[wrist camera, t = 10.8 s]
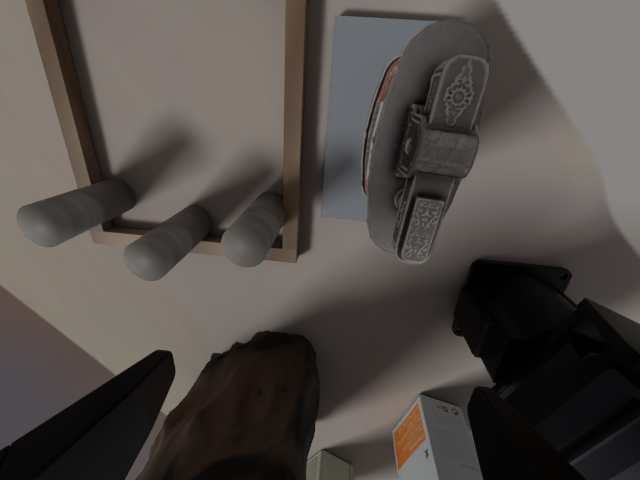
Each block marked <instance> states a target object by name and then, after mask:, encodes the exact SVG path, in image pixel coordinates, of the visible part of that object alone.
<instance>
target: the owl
mask: <svg viewBox="0 0 640 480" xmlns="http://www.w3.org/2000/svg"><path fill="white" fill-rule="evenodd" d="M319 398H320V389H319V375H318V368H317V366H316V353H315V351H314V349H313V347H312V344H311V342H310V341H309V340H308V339H306V338H305V337H304V336H302V335H294V334H291V335H290V334H288V333H279V332H270V331H264V332H258V333H256V334H255V335H254V336H253V338H252V339H251V340H250V341H249V342H248V343H247V344H245V345H244V344H241V343H238V342H236V343H234V344H233V345H232V347H231V349H230V350H229V351H227V352H225V353H223V355H221V354H218V353H213V354H212V356H211V360H210V361H209V362H208V363H207V364H206V366H205V368H204V369H203V370H202V372H201V374H200V375H199V377H198V379H197V380H196V382H195V383H194V385H193V386H192V388H191V389H190V391H189V392H188V394H187V395H186V397H185V398H184V399H183V400H182V401H181V402H180V403H179V404H178V405H177V407H176V408H174V409H173V410H172V411H171V412H169V414H168V416H167V417H166V419H165V421H164V424H163V427H162V429H161V431H160V432H159V434H158V436H157V437H156V439H155V442H154V443H153V445H152V446H151V450H150V455H149V460H148V462H147V464H146V466H145V467H144V469H143V471H142V472H141V474H140V475H139V476H138V477H137V478H136V480H306V467H307V456H308V453H309V450H310V447H311V443H312V440H313V438H314V433H315V422H316V418H317V413H318V408H319Z"/></svg>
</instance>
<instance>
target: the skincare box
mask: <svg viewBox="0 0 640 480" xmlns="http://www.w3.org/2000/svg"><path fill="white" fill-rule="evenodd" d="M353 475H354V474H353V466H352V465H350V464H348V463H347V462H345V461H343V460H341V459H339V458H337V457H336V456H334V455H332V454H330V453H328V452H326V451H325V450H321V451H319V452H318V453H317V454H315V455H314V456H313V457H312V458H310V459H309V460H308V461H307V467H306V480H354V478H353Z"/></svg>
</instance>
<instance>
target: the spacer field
mask: <svg viewBox="0 0 640 480" xmlns="http://www.w3.org/2000/svg"><path fill="white" fill-rule="evenodd" d="M25 2H26V5H27V9H28V12H29V16H30V20H31V23H32V27H33V30H34V34H35V37H36V41H37V44H38V48H39V52H40V55H41V59H42V62H43V66H44V69H45V73H46V76H47V80H48V84H49V87H50V91H51V94H52V98H53V101H54V105H55V108H56V112H57V116H58V119H59V123H60V126H61V130H62V133H63V137H64V140H65V144H66V147H67V151H68V155H69V158H70V162H71V165H72V169H73V172H74V176H75V179H76V183H77V187H78V189H76V190H73V191H70V192H67V193H64V194H60V195H57V196H54V197H51V198H48V199H45V200H41V201H38V202H35V203H32V204H29V205H26V206H23V207H21V208H20V209H19V210H18V212H17V223H18V225H19V228H20V229H21V231H22V232H23V234H24V235H25V236H26V237H27V238H28V239H30V240H31V241H32V242H34V243H36V244H38V245H40V246H43V247H54V246H57V245H59V244H61V243H63V242H65V241H67V240H69V239H71V238H73V237H75V236H77V235H79V234H81V233H83V232H85V231H87V230H89V229H90V233H91V236H92V240H93V243H99V244H110V245H120V246H127V247H126V248H125V250H124V261H125V264H126V266H127V267H128V269H129V270H130V271H131V272H132V273H133V274H134V275H136V276H137V277H139V278H141V279H144V280H148V281H155V280H159V279H161V278H162V277H163V276H164V275H166V274H167V273H168V272H169V271H170V270H171V269H172V268H173V267H174V266H175V265H176V264H177V263H178V262H179V261H180V260H181V259H183V258H184V257H185V256H186V255H187V254H188V253H189V252H190V253H201V254H211V255H221V256H226V257H227V258H228V259H229V260H230V261H231V262H233V263H234V264H236V265H239V266H242V267H253V266H256V265H258V264H260V263H261V262H262V261H263V260H271V261H281V262H291V263H296V262H297V259H298V253H299V227H300V202H301V177H302V151H303V126H304V100H305V75H306V49H307V24H308V0H286V27H285V100H284V173H283V197H282V196H281V195H279V194H277V193H274V192H266V193H263V194H261V195H260V196H259V197H258V198H257V199H256V200H255V201H254V202H253V203H252V204H251V205H250V206H249V207H248V208H247V209H246V210H245V211H244V212H243V213H242V214H241V216H240V217H239V218H238V219H237V220H236V221H235V222H234V223H233V224H232V225H231V226H230V227H229V228H228V229H227V230H226V231H225V232H224V234H223V236H222V237H218V236H208V234H209V233H210V232H211V230H212V227H213V223H212V219H211V217H210V215H209V214H208V213H207V212H206V211H205V210H204V209H202V208H200V207H197V206H189V207H187V208H185V209H183V210H182V211H180V212H179V213H177V214H176V215H174V216H172V217H171V218H169V219H168V220H166V221H165V222H163V223H162V224H160V225H159V226H157V227H155V228H154V229H152V230H145V229H135V228H124V227H114V226H113V224H112V220H111V219H112V218H114V217H116V216H118V215H120V214H122V213H124V212H126V211H128V210H130V209H132V208H133V206H134V204H135V195H134V192H133V190H132V189H131V187H130V186H129V185H128V184H127V183H125V182H124V181H122V180H120V179H115V178H112V179H108V180H105V181H102V179H101V175H100V171H99V167H98V163H97V158H96V154H95V150H94V146H93V142H92V138H91V134H90V130H89V126H88V122H87V118H86V113H85V109H84V105H83V101H82V97H81V93H80V89H79V85H78V81H77V77H76V72H75V68H74V64H73V60H72V56H71V52H70V48H69V44H68V40H67V36H66V32H65V27H64V23H63V19H62V15H61V11H60V7H59V3H58V0H25ZM282 225H283V243H281V242H274V240H275V239H276V237H277V235H278V233H279V231H280V229H281V227H282Z"/></svg>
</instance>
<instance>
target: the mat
mask: <svg viewBox="0 0 640 480" xmlns="http://www.w3.org/2000/svg"><path fill="white" fill-rule="evenodd" d="M435 22H437V21H423V20H406V19H389V18H371V17H354V16H336V15H335V27H334V42H333V56H332V70H331V84H330V98H329V112H328V126H327V140H326V154H325V168H324V182H323V197H322V211H321V217H332V218H343V219H354V220H365V221H367V198H366V197H365V196H364V194H363V192H362V187H361V153H362V144H363V135H364V129H365V125H366V121H367V117H368V113H369V109H370V105H371V101H372V99H373V96H374V93H375V90H376V88H377V85H378V82H379V80H380V77H381V74H382V72H383V70H384V68H385V67H386V65H387V64H388V63H389V62H390V61H391V60H392V59H393V58H395V57H396V56H398V55H401V54H403V52H404V51H405V49H406V47H407V46H408V44H409V42H410V41H411V40H412V39H413V38H414V37H415V36H416V35H417V34H418V33H419V32H420V31H422V30H423V29H424V28H425V27H426V26H428V25H430V24H433V23H435Z"/></svg>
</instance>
